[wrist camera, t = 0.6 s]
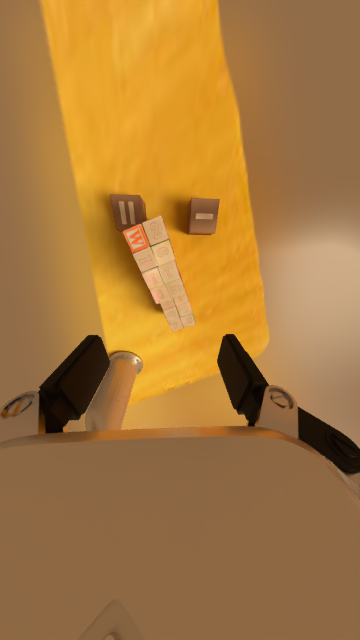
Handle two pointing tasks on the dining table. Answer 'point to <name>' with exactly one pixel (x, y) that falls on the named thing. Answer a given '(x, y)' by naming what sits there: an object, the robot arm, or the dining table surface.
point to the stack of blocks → (160, 270)
